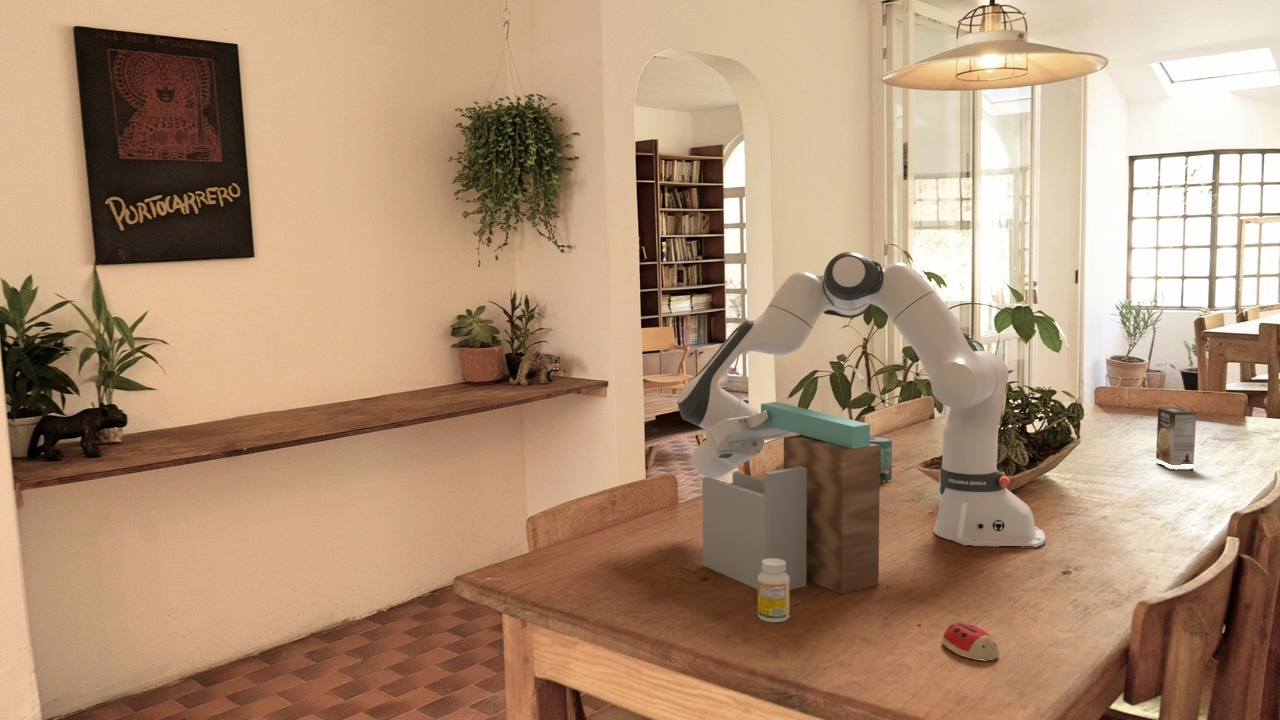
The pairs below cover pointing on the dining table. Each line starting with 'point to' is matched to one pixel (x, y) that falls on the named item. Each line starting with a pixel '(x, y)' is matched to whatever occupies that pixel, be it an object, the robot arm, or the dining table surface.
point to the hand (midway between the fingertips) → (779, 412)
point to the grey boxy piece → (756, 524)
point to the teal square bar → (818, 425)
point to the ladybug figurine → (970, 641)
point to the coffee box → (1176, 435)
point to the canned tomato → (884, 456)
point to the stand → (839, 511)
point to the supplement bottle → (773, 591)
